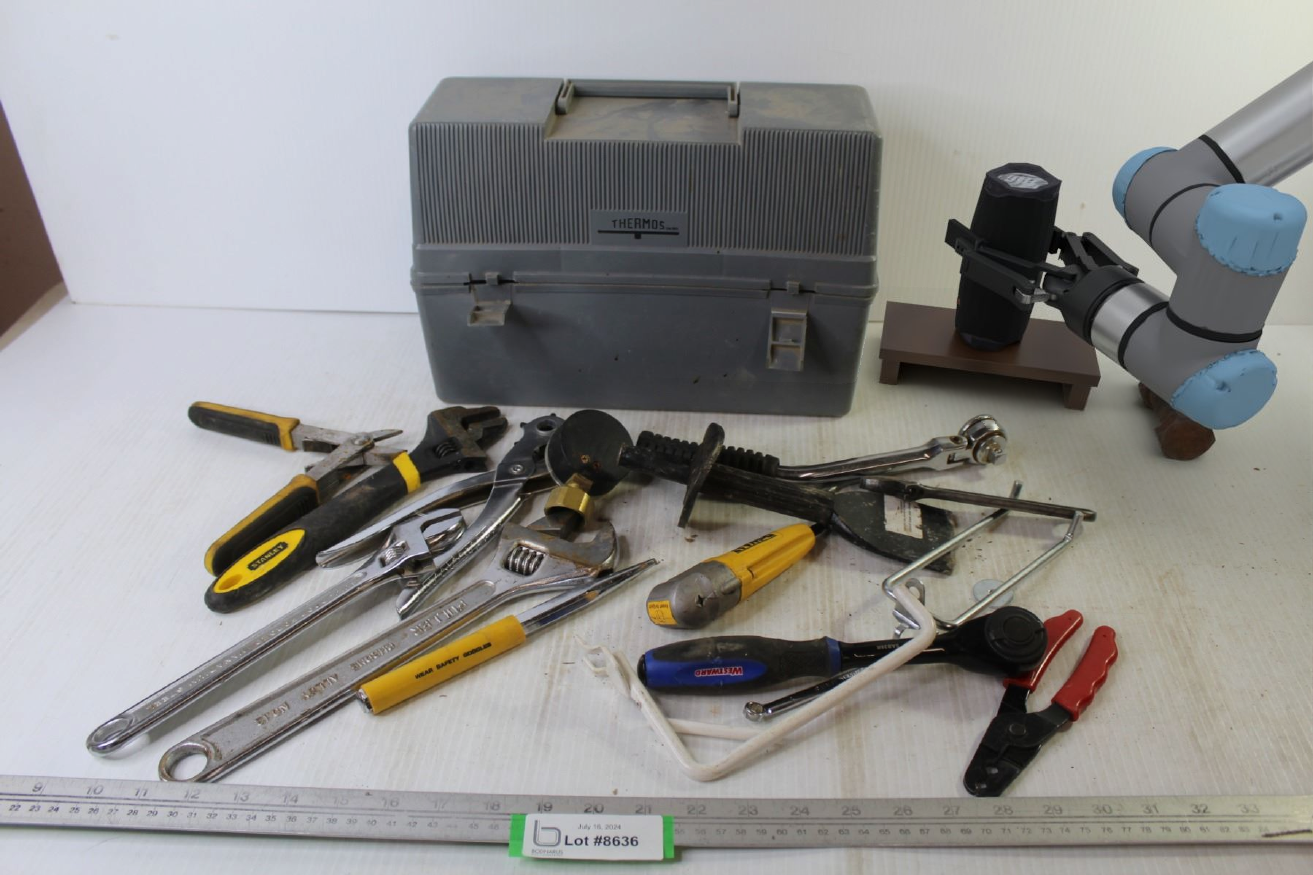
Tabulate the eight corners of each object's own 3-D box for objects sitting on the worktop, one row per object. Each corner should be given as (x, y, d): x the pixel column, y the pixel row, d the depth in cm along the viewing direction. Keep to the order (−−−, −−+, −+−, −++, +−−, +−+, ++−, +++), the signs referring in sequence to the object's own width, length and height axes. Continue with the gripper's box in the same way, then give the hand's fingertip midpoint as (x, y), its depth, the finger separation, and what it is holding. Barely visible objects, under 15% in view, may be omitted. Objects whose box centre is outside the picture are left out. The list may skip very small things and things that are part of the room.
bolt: (1149, 397, 116) (1183, 470, 103) (1116, 376, 115) (1147, 446, 102) (1188, 363, 112) (1228, 433, 100) (1155, 340, 112) (1191, 408, 99)
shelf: (1079, 360, 119) (1090, 324, 116) (1089, 413, 110) (1101, 376, 107) (881, 335, 124) (886, 300, 121) (874, 384, 115) (880, 347, 112)
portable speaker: (945, 348, 112) (977, 184, 100) (954, 312, 119) (985, 155, 107) (1023, 361, 109) (1065, 195, 98) (1028, 323, 116) (1067, 164, 105)
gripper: (1016, 367, 93) (897, 267, 110) (1198, 333, 98) (1057, 243, 115) (1034, 297, 88) (907, 204, 105) (1224, 265, 94) (1073, 183, 111)
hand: (985, 225), depth 110 cm, fingers closed on portable speaker, 9 cm apart
